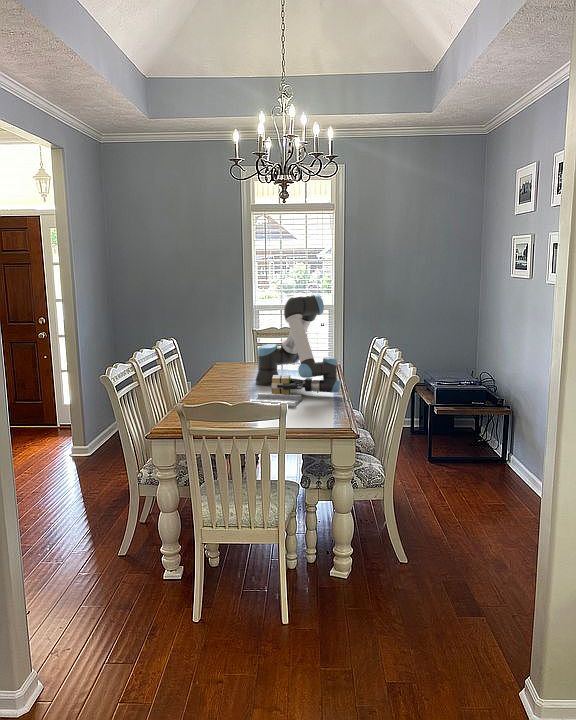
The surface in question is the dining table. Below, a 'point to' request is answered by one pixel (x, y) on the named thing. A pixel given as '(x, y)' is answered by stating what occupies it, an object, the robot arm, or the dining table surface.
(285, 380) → the puzzle cube
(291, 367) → the dining table surface
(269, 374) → the robot arm
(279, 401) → the rail base
